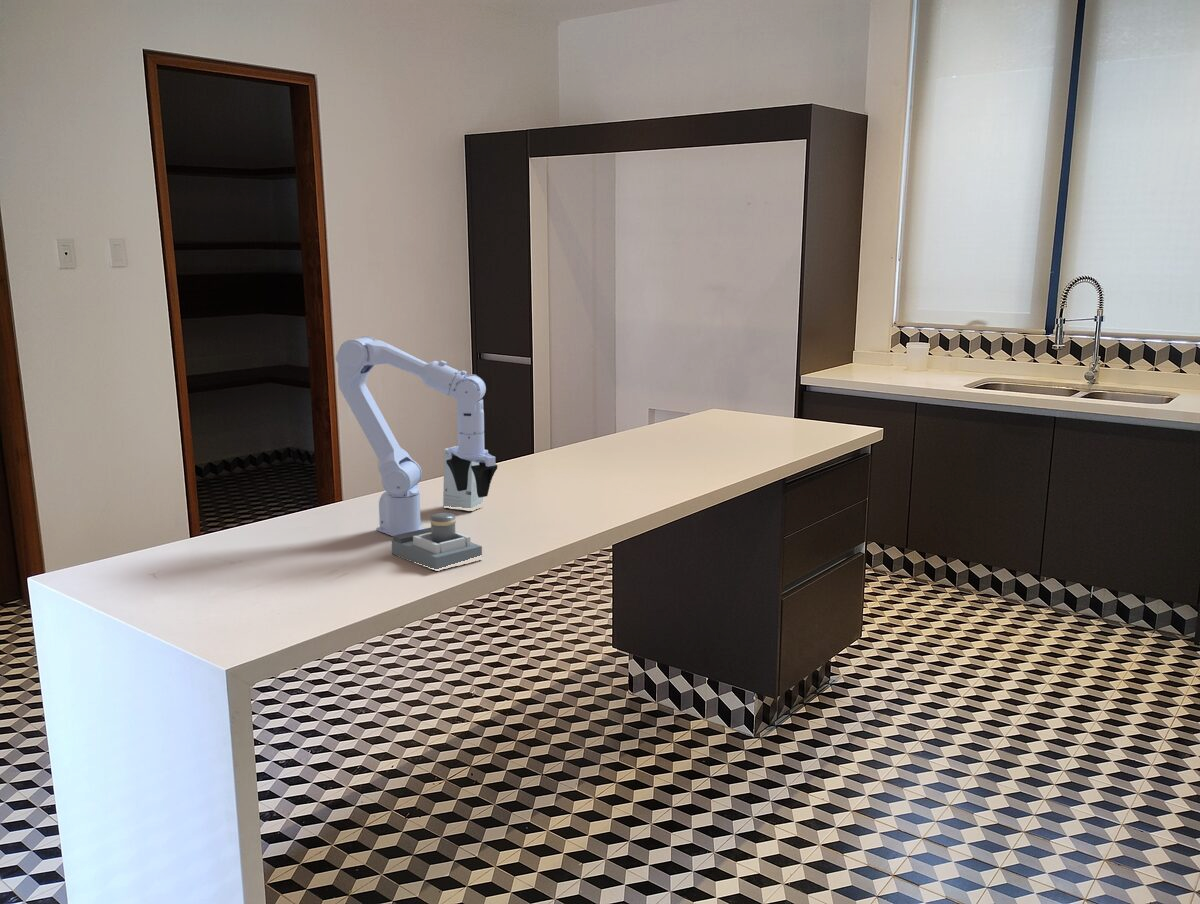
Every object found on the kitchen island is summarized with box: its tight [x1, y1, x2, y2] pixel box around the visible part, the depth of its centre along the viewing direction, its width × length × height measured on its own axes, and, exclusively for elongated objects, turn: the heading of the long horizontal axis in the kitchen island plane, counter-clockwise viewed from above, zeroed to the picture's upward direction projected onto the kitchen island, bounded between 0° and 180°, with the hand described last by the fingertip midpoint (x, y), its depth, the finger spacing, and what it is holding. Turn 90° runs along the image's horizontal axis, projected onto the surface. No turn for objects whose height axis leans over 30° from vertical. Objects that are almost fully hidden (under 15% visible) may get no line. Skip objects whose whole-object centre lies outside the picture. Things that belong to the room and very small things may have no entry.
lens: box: [430, 512, 457, 544], centre depth 195 cm, size 5×5×6 cm
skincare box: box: [442, 445, 484, 508], centre depth 234 cm, size 8×6×15 cm
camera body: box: [391, 526, 483, 569], centre depth 197 cm, size 16×11×5 cm
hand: (472, 493), depth 211 cm, fingers open, 7 cm apart
